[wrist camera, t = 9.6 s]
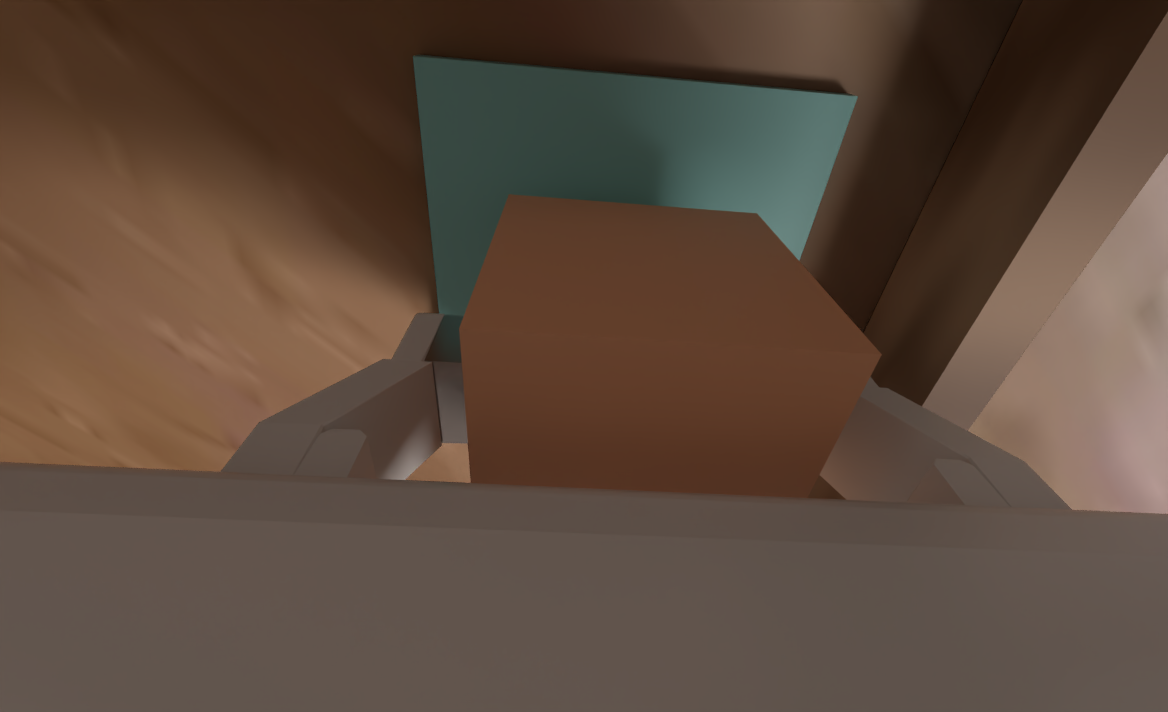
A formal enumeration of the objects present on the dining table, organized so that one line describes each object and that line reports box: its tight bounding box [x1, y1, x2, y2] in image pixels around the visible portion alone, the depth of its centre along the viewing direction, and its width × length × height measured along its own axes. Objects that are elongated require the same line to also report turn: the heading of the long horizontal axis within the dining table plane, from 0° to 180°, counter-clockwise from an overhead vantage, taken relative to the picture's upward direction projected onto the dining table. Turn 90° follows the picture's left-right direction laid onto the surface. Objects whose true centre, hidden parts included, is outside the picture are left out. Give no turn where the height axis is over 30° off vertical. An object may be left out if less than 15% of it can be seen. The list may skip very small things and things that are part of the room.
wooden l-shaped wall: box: [808, 0, 1168, 500], centre depth 12 cm, size 21×21×3 cm
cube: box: [459, 194, 882, 498], centre depth 9 cm, size 5×5×5 cm
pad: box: [413, 55, 858, 316], centre depth 13 cm, size 9×9×1 cm
